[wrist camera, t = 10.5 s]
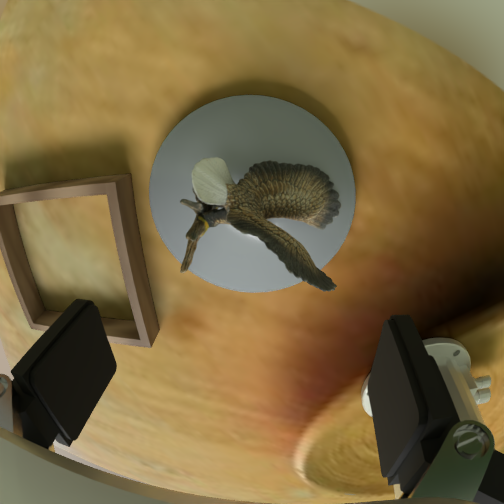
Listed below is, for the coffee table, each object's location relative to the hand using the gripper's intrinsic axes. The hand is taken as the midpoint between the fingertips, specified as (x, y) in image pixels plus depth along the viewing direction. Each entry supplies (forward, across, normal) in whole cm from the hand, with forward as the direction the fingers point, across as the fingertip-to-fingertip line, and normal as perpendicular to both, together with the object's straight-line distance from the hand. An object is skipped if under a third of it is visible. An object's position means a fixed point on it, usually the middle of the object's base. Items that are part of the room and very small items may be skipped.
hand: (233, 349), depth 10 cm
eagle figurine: (+13, 0, -1) cm, 13 cm away
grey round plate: (+14, +1, -1) cm, 14 cm away
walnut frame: (+14, +17, +4) cm, 22 cm away
